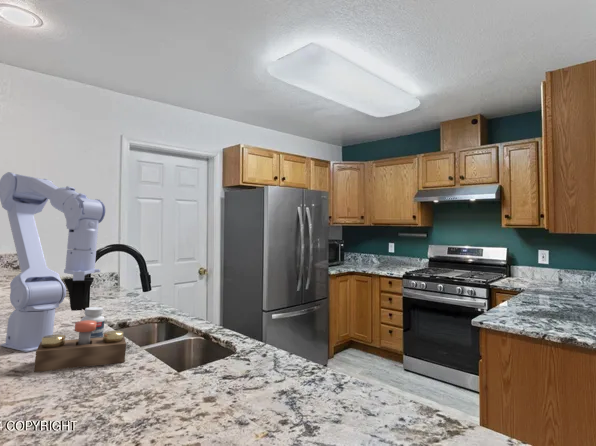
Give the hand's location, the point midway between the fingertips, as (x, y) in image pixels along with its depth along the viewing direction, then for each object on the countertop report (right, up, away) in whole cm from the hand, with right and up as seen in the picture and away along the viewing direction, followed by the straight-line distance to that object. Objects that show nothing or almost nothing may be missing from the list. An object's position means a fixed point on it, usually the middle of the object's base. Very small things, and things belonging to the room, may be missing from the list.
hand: (76, 310), depth 77 cm
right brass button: (+8, -11, 0) cm, 13 cm away
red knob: (+3, -7, -3) cm, 9 cm away
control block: (+3, -10, -3) cm, 11 cm away
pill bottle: (-3, -11, +10) cm, 15 cm away
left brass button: (-1, -10, -6) cm, 11 cm away
